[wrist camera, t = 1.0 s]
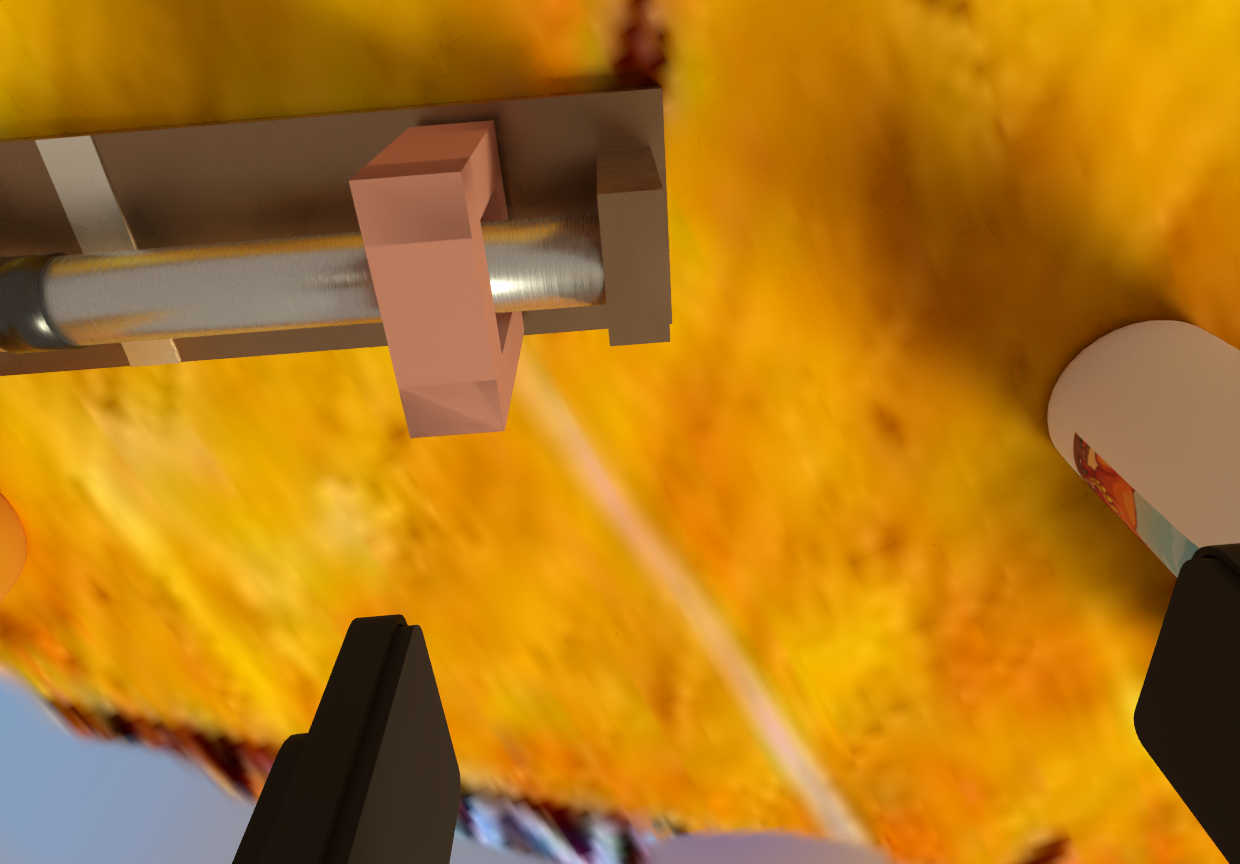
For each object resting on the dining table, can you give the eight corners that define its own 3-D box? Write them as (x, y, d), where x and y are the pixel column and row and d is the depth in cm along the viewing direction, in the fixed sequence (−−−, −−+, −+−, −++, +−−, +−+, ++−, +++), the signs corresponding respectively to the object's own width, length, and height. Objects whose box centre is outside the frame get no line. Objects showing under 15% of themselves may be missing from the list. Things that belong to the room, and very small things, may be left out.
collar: (408, 127, 28) (348, 180, 21) (493, 120, 28) (460, 171, 21) (449, 336, 32) (410, 437, 25) (524, 330, 32) (504, 431, 25)
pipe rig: (-178, 154, 30) (-381, 204, 23) (660, 85, 29) (677, 118, 23) (-56, 372, 34) (-198, 462, 28) (670, 315, 34) (687, 394, 28)
